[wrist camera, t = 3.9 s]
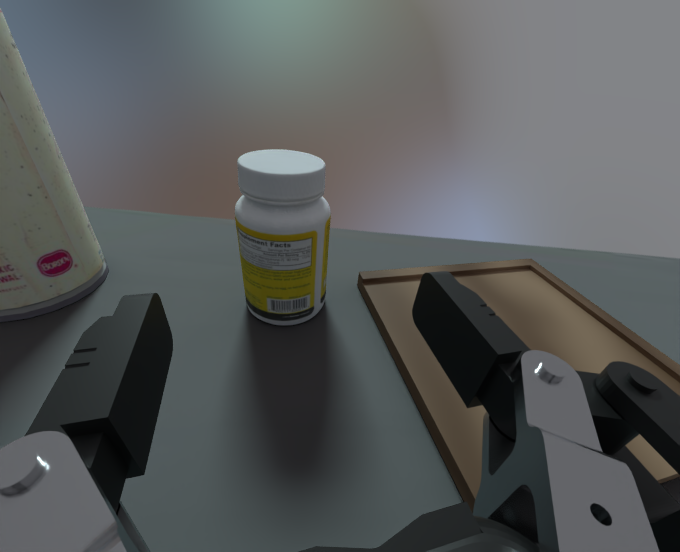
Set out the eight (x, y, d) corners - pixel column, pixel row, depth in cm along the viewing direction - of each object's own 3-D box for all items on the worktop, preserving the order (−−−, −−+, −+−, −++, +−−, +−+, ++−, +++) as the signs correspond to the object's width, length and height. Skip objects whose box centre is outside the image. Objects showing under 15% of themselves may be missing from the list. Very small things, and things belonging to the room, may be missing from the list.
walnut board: (485, 545, 10) (498, 533, 9) (357, 285, 21) (359, 272, 20) (756, 449, 13) (779, 436, 13) (525, 270, 24) (531, 258, 24)
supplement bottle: (284, 270, 22) (282, 142, 17) (339, 298, 20) (354, 162, 15) (228, 303, 18) (205, 156, 13) (287, 341, 16) (284, 184, 11)
